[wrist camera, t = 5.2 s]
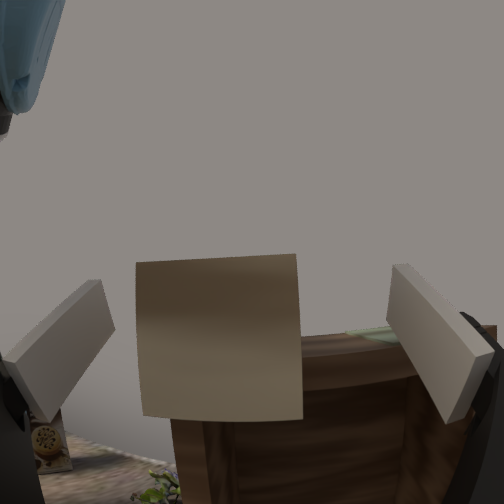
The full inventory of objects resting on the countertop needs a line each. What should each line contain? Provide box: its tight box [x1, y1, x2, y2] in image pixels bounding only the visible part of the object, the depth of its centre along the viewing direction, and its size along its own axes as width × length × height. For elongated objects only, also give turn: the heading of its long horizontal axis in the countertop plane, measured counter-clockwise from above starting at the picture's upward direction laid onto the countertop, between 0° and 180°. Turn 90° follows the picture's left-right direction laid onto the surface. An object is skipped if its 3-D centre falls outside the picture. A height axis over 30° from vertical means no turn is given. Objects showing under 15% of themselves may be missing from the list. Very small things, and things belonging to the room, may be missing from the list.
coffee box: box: [26, 407, 73, 474], centre depth 40 cm, size 9×6×16 cm
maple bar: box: [136, 254, 303, 422], centre depth 19 cm, size 24×4×4 cm, turn 176°
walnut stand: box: [170, 325, 497, 504], centre depth 20 cm, size 14×22×30 cm, turn 86°
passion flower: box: [130, 469, 181, 504], centre depth 33 cm, size 11×11×12 cm
